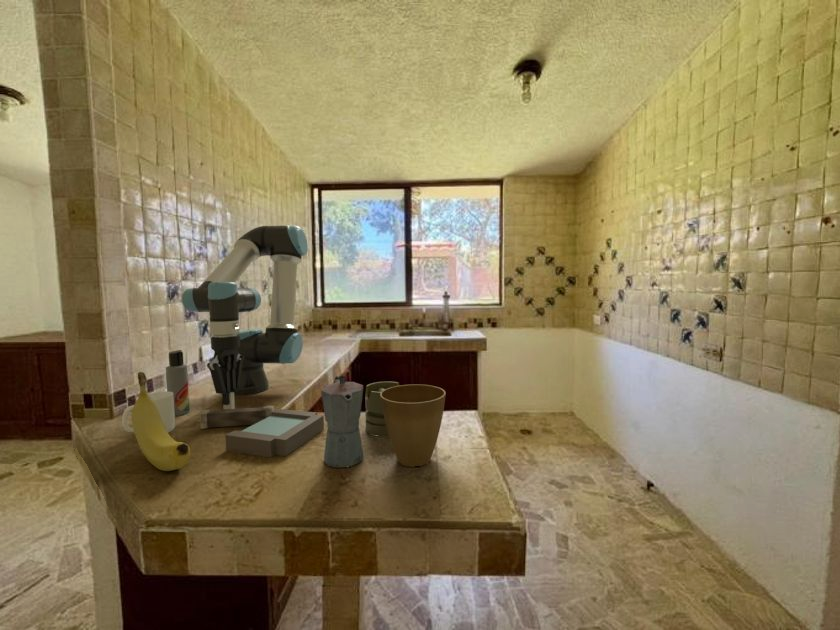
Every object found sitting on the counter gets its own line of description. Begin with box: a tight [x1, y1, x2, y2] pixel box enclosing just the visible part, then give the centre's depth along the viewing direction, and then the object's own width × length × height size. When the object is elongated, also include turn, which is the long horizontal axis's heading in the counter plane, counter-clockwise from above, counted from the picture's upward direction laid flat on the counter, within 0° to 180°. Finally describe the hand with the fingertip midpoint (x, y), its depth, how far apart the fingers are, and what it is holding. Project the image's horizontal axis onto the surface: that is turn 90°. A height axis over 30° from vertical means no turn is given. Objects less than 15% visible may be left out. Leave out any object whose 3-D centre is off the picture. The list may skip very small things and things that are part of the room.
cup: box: [121, 391, 176, 434], centre depth 101 cm, size 8×12×10 cm
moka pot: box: [320, 375, 364, 468], centre depth 85 cm, size 10×15×20 cm, turn 27°
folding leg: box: [199, 405, 275, 430], centre depth 107 cm, size 19×3×4 cm, turn 100°
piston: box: [364, 381, 400, 437], centre depth 104 cm, size 11×12×11 cm
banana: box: [131, 371, 191, 472], centre depth 83 cm, size 23×6×20 cm, turn 55°
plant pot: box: [380, 383, 446, 468], centre depth 85 cm, size 15×15×16 cm
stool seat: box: [224, 408, 325, 458], centre depth 98 cm, size 20×16×4 cm
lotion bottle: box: [165, 349, 190, 417], centre depth 117 cm, size 6×6×20 cm
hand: (229, 414), depth 109 cm, fingers closed
